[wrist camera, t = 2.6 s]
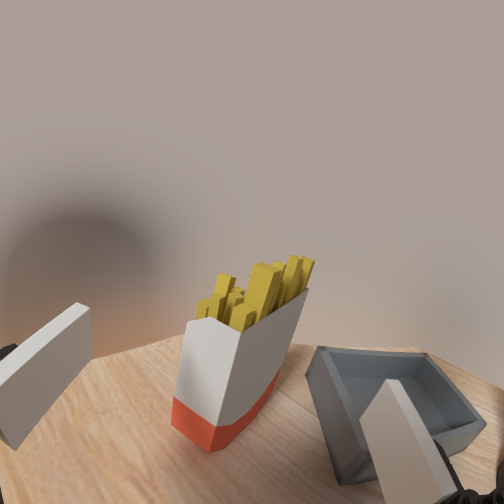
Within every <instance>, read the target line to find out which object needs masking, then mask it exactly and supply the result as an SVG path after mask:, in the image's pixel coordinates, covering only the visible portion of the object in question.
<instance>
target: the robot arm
mask: <svg viewBox="0 0 504 504" xmlns="http://www.w3.org/2000/svg"><path fill="white" fill-rule="evenodd" d="M92 358H93V354H92V341H91V320H90V308H88V307H86V306H84V305H82V304H80V303H75V304H74V305H72V306H71V307H69V308H68V309H67V310H65V311H64V312H63V313H61V314H60V315H59V316H57V317H56V318H55V319H53V320H52V321H51V322H49V323H48V324H47V325H45V326H44V327H43V328H41V329H40V330H39V331H37V332H36V333H35V334H34V335H32V336H31V337H30V338H29V339H27V340H26V341H25V342H23V343H22V344H21V345H20V346H17V345H16V344H12V345H9V346H6V347H3V348H2V349H1V350H0V439H1V440H2V441H3V442H4V443H6V444H7V445H8V446H9V447H10V448H12V449H13V450H14V451H16V450H17V449H18V447H19V446H20V445H21V443H22V442H23V441H24V440H25V438H26V437H27V436H28V434H29V433H30V432H31V431H32V429H33V428H34V427H35V425H36V424H37V423H38V422H39V420H40V419H41V418H42V417H43V415H44V414H45V413H46V412H47V410H48V409H49V408H50V407H51V406H52V404H53V403H54V402H55V401H56V400H57V398H58V397H59V396H60V395H61V394H62V392H63V391H64V390H65V389H66V388H67V386H68V385H69V384H70V383H71V382H72V381H73V379H74V378H75V377H76V376H77V375H78V374H79V373H80V371H81V370H82V369H83V368H84V367H85V366H86V365H87V363H88V362H89V361H90V360H91V359H92ZM359 421H360V424H361V427H362V429H363V432H364V435H365V438H366V441H367V444H368V448H369V451H370V454H371V457H372V460H373V463H374V466H375V470H376V473H377V476H378V479H379V483H380V486H381V489H382V493H383V496H384V500H385V503H386V504H504V460H503V462H502V463H501V465H500V468H499V471H498V477H497V486H498V487H497V488H496V489H495V490H493V491H492V492H491V493H490V494H487V495H479V494H478V493H477V492H476V491H474V490H471V489H467V490H464V488H463V487H462V485H461V483H460V481H459V479H458V477H457V475H456V473H455V471H454V469H453V467H452V465H451V464H450V461H449V459H448V457H446V456H447V455H446V453H445V451H444V449H443V447H442V446H441V445H440V444H439V443H438V442H437V441H436V440H435V439H433V440H432V438H431V436H430V434H429V432H428V430H427V429H426V427H425V425H424V423H423V421H422V419H421V418H420V416H419V414H418V412H417V410H416V409H415V407H414V405H413V403H412V402H411V400H410V398H409V397H408V395H407V393H406V391H405V390H404V388H403V386H402V385H401V383H400V381H399V380H392V379H386V380H385V382H384V383H383V385H382V386H381V388H380V390H379V391H378V393H377V394H376V396H375V397H374V399H373V400H372V402H371V403H370V405H369V406H368V408H367V409H366V411H365V412H364V413H363V415H362V416H361V418H360V419H359ZM0 504H4V502H3V498H2V493H1V488H0Z"/></svg>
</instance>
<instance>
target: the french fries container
mask: <svg viewBox="0 0 504 504" xmlns="http://www.w3.org/2000/svg"><path fill="white" fill-rule="evenodd" d="M314 263H315V261H314V260H312V259H309V258H307V257H304V256H303V257H298V256H296V255H290V257H289V260H288V263H287V267H286V264H284V263H281V262H279V261H274V262H273V265H272V266H271V265H269V264H266V263H264V262H262V263H257V264H254V266H253V270H252V273H251V274H250V278H249V283H248V287H247V291H246V296H245V297H244V292H245V291H244V290H243V289H241V288H240V287H238V286H236V287H234V284H235V280H236V278H235V277H232V276H229V275H226V274H222V273H219V275H218V279H217V283H216V287H215V291H214V294H212V295H211V299H205V300H200V301H198V304H197V313H196V320H193V321H189V322H187V327H186V332H185V336H184V341H183V346H182V351H181V357H180V362H179V367H178V373H177V378H176V384H175V390H174V396H173V407H172V420H171V425H172V426H174V427H175V428H176V429H177V430H179V431H180V432H181V433H183V434H184V435H185V436H186V437H188V438H189V439H190V440H192V441H193V442H195V443H196V444H197V445H199V446H200V447H202V448H203V449H204V450H206V451H207V452H213V451H217V450H220V449H224V448H225V447H226V446H227V445H228V444H229V443H230V442H231V441H232V440H233V439H234V438H235V437H236V436H237V435H238V434H239V433H240V432H241V431H242V430H243V429H244V428H245V427H246V426H247V425H248V424H249V423H250V422H251V421H252V420H253V419H254V417H255V416H256V414H257V413H258V411H259V410H260V408H261V407H262V405H263V404H264V402H265V401H266V399H267V398H268V396H269V395H270V393H271V392H272V389H273V387H274V384H275V382H276V379H277V377H278V374H279V372H280V369H281V366H282V364H283V361H284V359H285V356H286V353H287V351H288V348H289V345H290V342H291V339H292V337H293V334H294V331H295V328H296V326H297V323H298V320H299V317H300V314H301V311H302V308H303V305H304V302H305V299H306V296H307V293H308V290H309V288H307V287H306V286H307V283H308V280H309V277H310V274H311V272H312V269H313V266H314ZM285 268H286V270H285Z"/></svg>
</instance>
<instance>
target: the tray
mask: <svg viewBox="0 0 504 504" xmlns="http://www.w3.org/2000/svg"><path fill="white" fill-rule="evenodd" d="M305 376H306V379H307V382H308V385H309V388H310V391H311V395H312V398H313V401H314V404H315V408H316V411H317V414H318V417H319V421H320V424H321V427H322V430H323V434H324V437H325V440H326V443H327V447H328V450H329V453H330V457H331V460H332V463H333V467H334V470H335V474H336V477H337V480H338V484H339V486H343V485H349V484H355V483H361V482H366V481H371V480H376V479H378V476H377V473H376V470H375V466H374V463H373V460H372V457H371V454H370V451H369V448H368V444H367V441H366V438H365V435H364V432H363V429H362V427H361V424H360V421H359V419H360V418H361V416H362V415H363V413H364V412H365V411H366V409H367V408H368V406H369V405H370V403H371V402H372V400H373V399H374V397H375V396H376V394H377V393H378V391H379V390H380V388H381V386H382V385H383V383H384V382H385V380H386V379H392V380H399V381H400V383H401V385H402V386H403V388H404V390H405V391H406V393H407V395H408V397H409V398H410V400H411V402H412V403H413V405H414V407H415V409H416V410H417V412H418V414H419V416H420V418H421V419H422V421H423V423H424V425H425V427H426V429H427V430H428V432H429V434H430V436H431V438H432V440H433V439H435V440H436V441H437V442H438V443H439V444H440V445H441V446H442V447H443V449H444V451H445V453H446V455H447V456H446V457H450V456H452V455H455V454H457V453H459V452H462V451H464V450H465V449H466V448H467V447H468V446H469V445H470V444H471V443H472V441H473V440H474V439H475V438H476V437H477V436H478V435H479V433H480V432H481V431H482V430H483V429H484V427H485V426H486V425H487V423H486V422H485V421H484V419H483V418H482V417H481V416H480V414H479V413H478V412H477V411H476V410H475V408H474V407H473V406H472V405H471V404H470V402H469V401H468V400H467V399H466V398H465V396H464V395H463V394H462V393H461V392H460V391H459V389H458V388H457V387H456V386H455V385H454V384H453V382H452V381H451V380H450V379H449V378H448V377H447V376H446V375H445V373H444V372H443V371H442V370H441V369H440V368H439V367H438V366H437V365H436V363H435V362H434V361H433V360H432V359H431V358H430V357H429V356H428V355H427V354H426V353H406V352H384V351H369V350H356V349H344V348H334V347H325V346H317V349H316V351H315V353H314V356H313V358H312V360H311V363H310V365H309V367H308V370H307V372H306V374H305Z"/></svg>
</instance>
